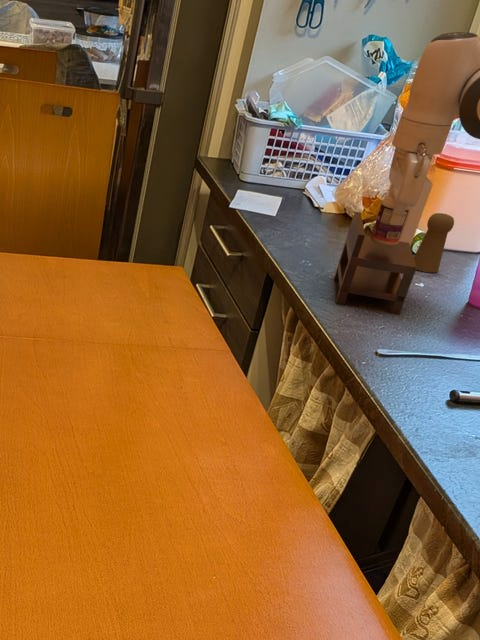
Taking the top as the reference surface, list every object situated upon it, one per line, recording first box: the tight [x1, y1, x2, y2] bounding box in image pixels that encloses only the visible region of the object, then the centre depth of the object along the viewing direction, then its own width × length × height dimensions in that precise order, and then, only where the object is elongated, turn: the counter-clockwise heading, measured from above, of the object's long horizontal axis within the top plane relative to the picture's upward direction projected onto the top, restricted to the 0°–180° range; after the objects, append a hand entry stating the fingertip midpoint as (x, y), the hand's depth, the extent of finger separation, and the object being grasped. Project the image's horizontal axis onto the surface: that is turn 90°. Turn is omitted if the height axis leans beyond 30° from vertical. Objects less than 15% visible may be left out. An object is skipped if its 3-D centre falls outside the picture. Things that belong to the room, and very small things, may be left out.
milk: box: [386, 176, 434, 275], centre depth 189 cm, size 6×6×22 cm
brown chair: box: [333, 211, 417, 316], centre depth 181 cm, size 12×16×13 cm
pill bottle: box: [370, 185, 411, 246], centre depth 175 cm, size 5×5×10 cm
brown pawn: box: [413, 212, 455, 273], centre depth 199 cm, size 6×6×11 cm
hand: (392, 219), depth 176 cm, fingers closed on pill bottle, 5 cm apart
